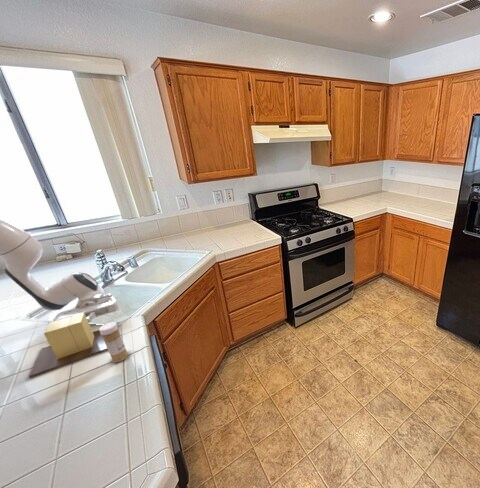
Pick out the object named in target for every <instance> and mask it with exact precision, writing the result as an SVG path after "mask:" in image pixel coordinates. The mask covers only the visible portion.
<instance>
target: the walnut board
mask: <svg viewBox="0 0 480 488" xmlns="http://www.w3.org/2000/svg"><path fill="white" fill-rule="evenodd" d="M92 332H93V334H94V340H93V345H92V347H91V348H88V349H85V350H82V351H80V352H77V353H74V354H71V355H68V356H65V357H62V358H59V359H57V358H56V356H55V354H54V352H53V350H52V348H51V346H50V345H48V346H44V347H42V348H41V349H40V352H39V353H38V356H37V358H36V360H35V362H34V364H33V366H32V369H31V371H30V373H29V375H28V377H29V379H32V378H34V377H36V376H40V375H42V374H46V373H48V372H50V371H53V370H57V369H60V368H61V367H64V366H68V365H70V364H73V363H77V362H78V361H82V360H85V359H88V358H90V357H92V356H96V355H99V354H101V353H104V352H107V351H108V349H107V346H106V344H105V342H104V339H103V336H102V335H101V334H100V331H99V329H97V330H94V331H92Z"/></svg>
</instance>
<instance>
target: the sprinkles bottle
mask: <svg viewBox="0 0 480 488" xmlns="http://www.w3.org/2000/svg"><path fill="white" fill-rule="evenodd" d="M98 330H99V331H100V334H101V335H102V336H103V339H104V342H105V344H106V346H107V349H108V350H107V351H108V354H109V355H110V358H111V362H113V363H120V362H122V361H124V360H126V359H127V358H128V357H129V352H128V351H127V349H126V345H125V342H124V339H123V337H122V335H121V333H120V330H119V327H118V324H117V322H114V321H111V322H107V323H105V324H103V325H101V326H100V327H99V329H98Z"/></svg>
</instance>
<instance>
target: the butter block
mask: <svg viewBox="0 0 480 488" xmlns="http://www.w3.org/2000/svg"><path fill="white" fill-rule="evenodd" d="M71 317H72V316H71ZM71 317H67V318H64V319H60V320H57V321H53V320H52V321H51V322H48V324H47V326H46V328H45V330H44V332H43V334H44V336H45V338H46V340H47V342H48V344H49V346H51V348H52V350H53V352H54V354H55V356H56V358H57V359H59V358H62V357H65V356H68V355H71V354H74V353H77V352H80V350H79V348H78V346H77V344H76V342H75V339H74V337H73V335H72V333H71V331H70V329H69V327H68V325H69V323H70V320H71Z"/></svg>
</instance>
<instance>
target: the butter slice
mask: <svg viewBox="0 0 480 488" xmlns="http://www.w3.org/2000/svg"><path fill="white" fill-rule="evenodd" d="M68 327H69V329H70V331H71V333H72V335H73V337H74V339H75V342H76V344H77V346H78V348H79V350H80V351H82V350H85V349H88V348H91V347H92V345H93V340H94V334H93V332H94V331H93V330H92V327H91V325H90V322H88V320H87V318H86V316H85V313H84V312H83V313H80V314H76V315H73V316H72V317H71V320H70V323H69V325H68Z"/></svg>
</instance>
